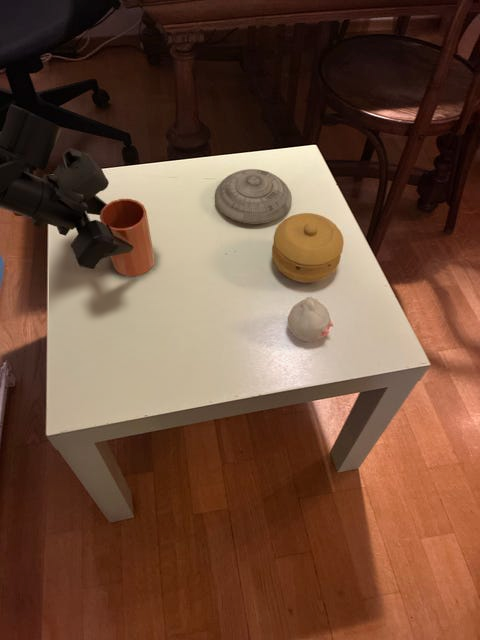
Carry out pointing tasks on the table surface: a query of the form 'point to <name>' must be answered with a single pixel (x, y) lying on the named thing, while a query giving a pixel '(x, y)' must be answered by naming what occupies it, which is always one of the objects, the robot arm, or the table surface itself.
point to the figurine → (309, 320)
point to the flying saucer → (253, 196)
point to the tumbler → (130, 235)
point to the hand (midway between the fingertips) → (122, 230)
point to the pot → (307, 247)
